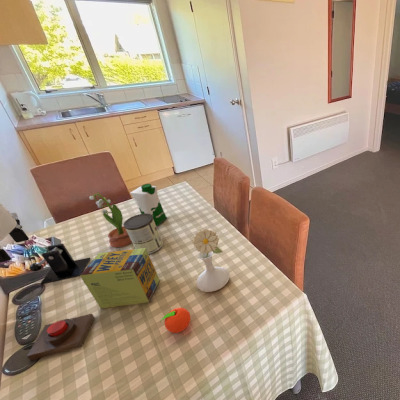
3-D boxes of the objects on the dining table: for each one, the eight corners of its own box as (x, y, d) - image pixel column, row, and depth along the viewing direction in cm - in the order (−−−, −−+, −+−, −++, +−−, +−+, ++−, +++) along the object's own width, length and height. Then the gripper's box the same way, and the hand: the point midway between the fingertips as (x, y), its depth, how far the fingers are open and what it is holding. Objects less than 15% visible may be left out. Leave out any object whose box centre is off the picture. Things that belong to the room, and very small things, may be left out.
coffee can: (133, 247, 115) (120, 220, 108) (158, 236, 121) (148, 210, 114) (139, 258, 109) (126, 231, 101) (166, 246, 115) (155, 220, 108)
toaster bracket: (42, 286, 97) (23, 262, 91) (55, 267, 105) (39, 244, 99) (81, 277, 100) (66, 253, 94) (91, 260, 108) (78, 237, 102)
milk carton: (158, 227, 127) (143, 190, 117) (141, 225, 128) (125, 189, 118) (169, 216, 135) (157, 181, 125) (153, 215, 136) (139, 180, 126)
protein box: (150, 302, 90) (133, 269, 82) (100, 309, 88) (78, 275, 80) (160, 279, 99) (146, 247, 91) (115, 284, 97) (97, 252, 89)
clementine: (163, 342, 78) (155, 327, 74) (165, 323, 83) (158, 308, 80) (193, 332, 80) (187, 317, 77) (192, 314, 86) (187, 299, 82)
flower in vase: (190, 289, 94) (169, 234, 82) (212, 267, 104) (196, 214, 91) (220, 300, 90) (203, 243, 78) (240, 276, 100) (228, 221, 87)
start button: (47, 338, 75) (43, 334, 74) (54, 326, 79) (51, 322, 78) (64, 334, 76) (61, 330, 76) (70, 322, 80) (67, 318, 79)
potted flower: (101, 247, 115) (74, 197, 102) (120, 233, 123) (96, 186, 110) (126, 250, 113) (100, 200, 100) (143, 236, 121) (121, 187, 109)
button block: (30, 360, 74) (22, 352, 72) (49, 329, 82) (42, 321, 80) (82, 346, 77) (75, 338, 75) (95, 317, 85) (89, 309, 83)
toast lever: (34, 274, 97) (24, 270, 95) (39, 268, 100) (30, 264, 98) (60, 255, 97) (51, 250, 95) (64, 250, 100) (55, 245, 98)
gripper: (-22, 190, 77) (14, 237, 86) (-71, 222, 63) (-22, 274, 72) (11, 186, 80) (43, 231, 88) (-30, 216, 66) (13, 266, 74)
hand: (14, 250), depth 80 cm, fingers open, 9 cm apart
